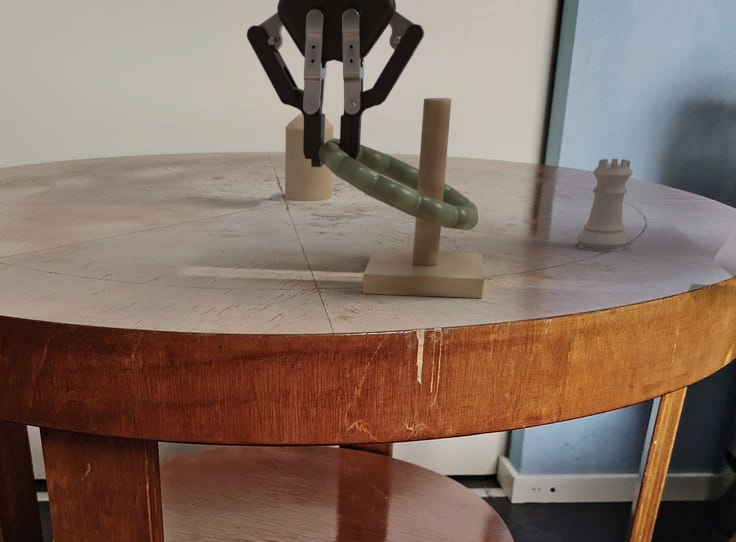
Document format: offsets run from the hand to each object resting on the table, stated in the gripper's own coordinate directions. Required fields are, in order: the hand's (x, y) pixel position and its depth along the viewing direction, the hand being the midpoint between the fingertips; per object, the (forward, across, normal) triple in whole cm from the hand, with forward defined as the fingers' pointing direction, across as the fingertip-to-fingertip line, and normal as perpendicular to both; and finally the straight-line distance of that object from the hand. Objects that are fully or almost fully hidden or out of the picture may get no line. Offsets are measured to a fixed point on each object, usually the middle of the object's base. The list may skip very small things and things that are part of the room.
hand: (331, 165), depth 70 cm
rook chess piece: (+9, +23, +13) cm, 28 cm away
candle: (+9, -7, +37) cm, 39 cm away
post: (+9, +8, 0) cm, 12 cm away
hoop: (+1, +5, 0) cm, 5 cm away
